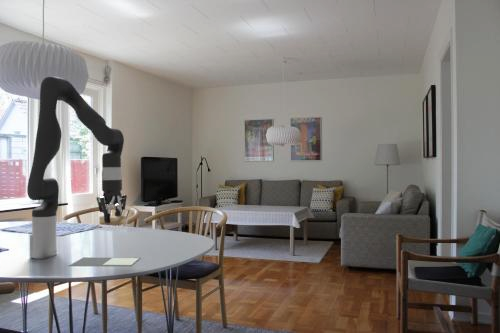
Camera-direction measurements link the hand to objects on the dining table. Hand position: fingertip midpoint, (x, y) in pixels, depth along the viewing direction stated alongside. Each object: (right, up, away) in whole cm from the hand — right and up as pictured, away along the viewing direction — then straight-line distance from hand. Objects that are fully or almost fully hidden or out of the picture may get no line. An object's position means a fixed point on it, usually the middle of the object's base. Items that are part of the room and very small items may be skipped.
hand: (112, 221), depth 164 cm
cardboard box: (0, -1, 0) cm, 1 cm away
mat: (-3, -16, 0) cm, 16 cm away
